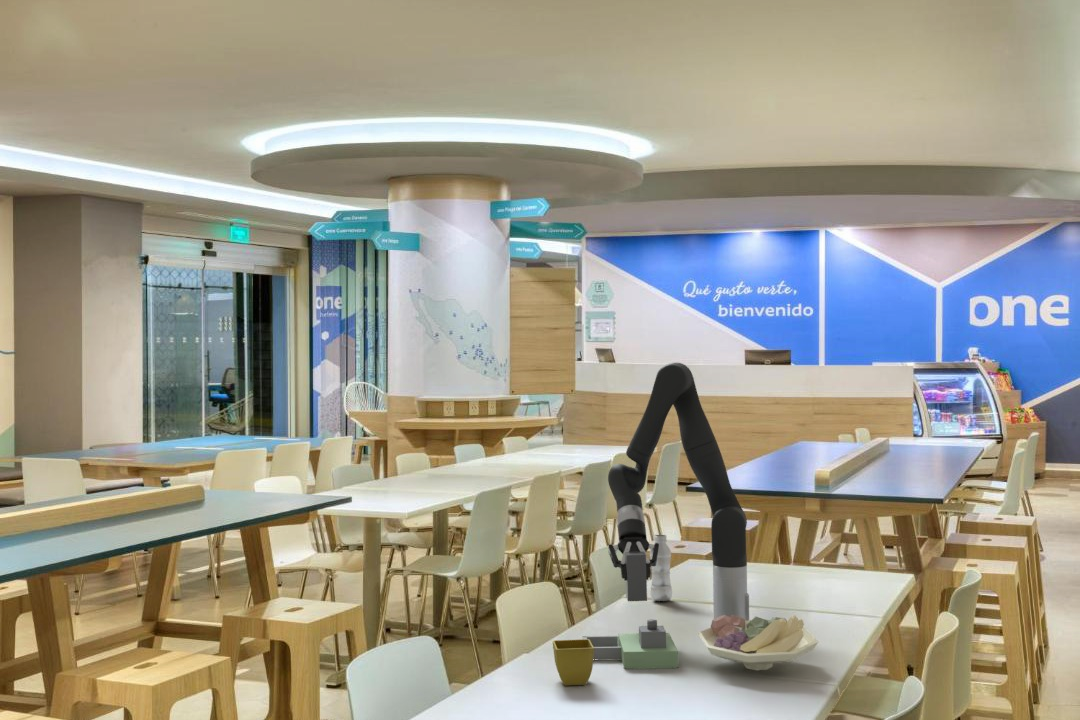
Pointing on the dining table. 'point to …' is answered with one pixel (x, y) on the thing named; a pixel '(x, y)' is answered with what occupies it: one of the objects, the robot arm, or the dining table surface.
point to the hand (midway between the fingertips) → (636, 578)
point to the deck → (638, 647)
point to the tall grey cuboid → (636, 576)
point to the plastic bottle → (661, 571)
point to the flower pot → (573, 660)
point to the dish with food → (758, 640)
